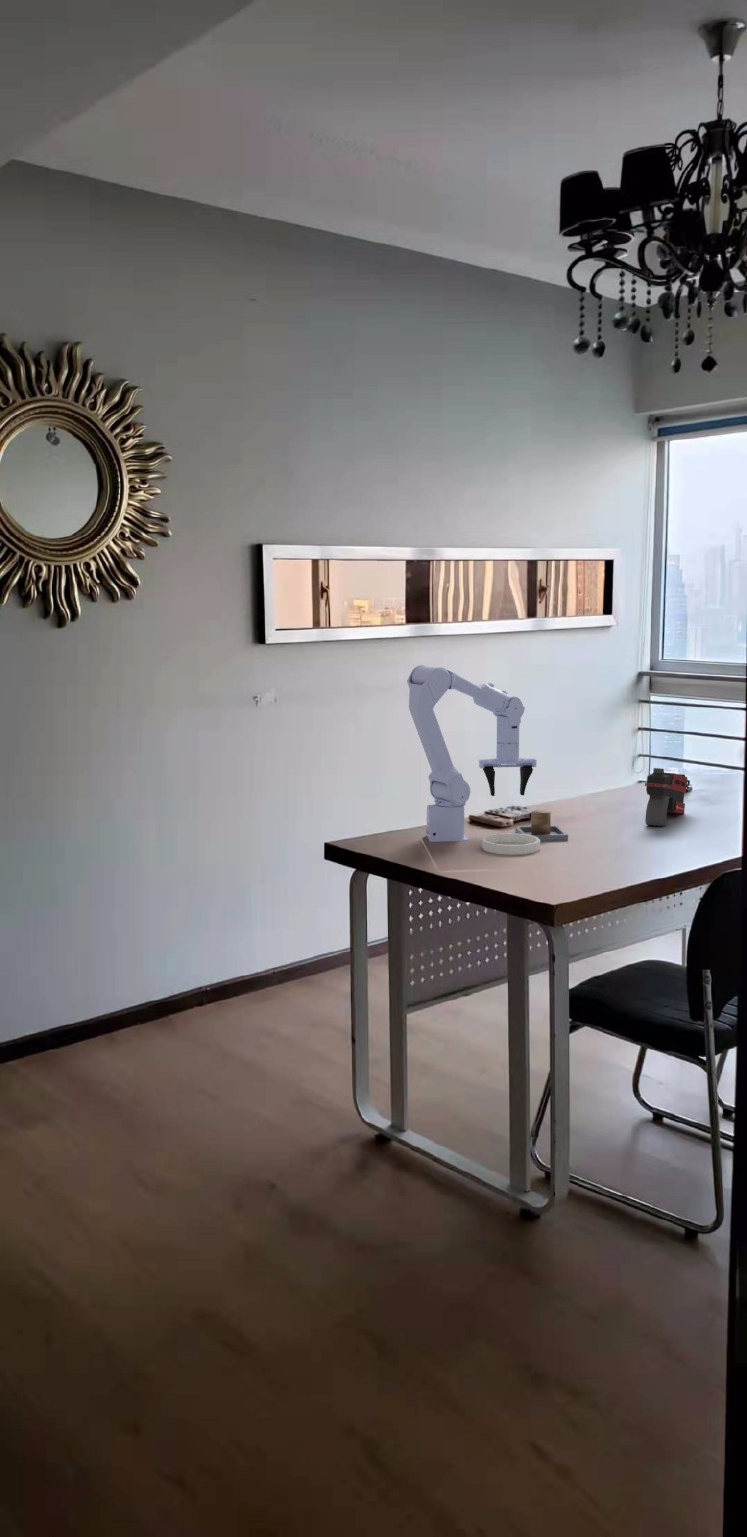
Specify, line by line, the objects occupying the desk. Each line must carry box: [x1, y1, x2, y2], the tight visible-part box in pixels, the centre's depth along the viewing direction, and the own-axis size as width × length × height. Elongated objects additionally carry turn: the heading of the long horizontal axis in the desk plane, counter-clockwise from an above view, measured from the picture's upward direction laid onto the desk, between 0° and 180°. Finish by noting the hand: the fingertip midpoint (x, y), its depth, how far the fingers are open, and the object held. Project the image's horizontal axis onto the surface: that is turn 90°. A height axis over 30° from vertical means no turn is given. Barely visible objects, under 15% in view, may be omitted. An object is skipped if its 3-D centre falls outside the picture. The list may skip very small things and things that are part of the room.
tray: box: [514, 825, 569, 842], centre depth 300 cm, size 11×11×2 cm
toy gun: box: [644, 767, 688, 827], centre depth 320 cm, size 5×24×15 cm, turn 152°
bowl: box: [481, 832, 541, 856], centre depth 287 cm, size 14×14×2 cm
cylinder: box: [530, 809, 552, 835], centre depth 299 cm, size 5×5×6 cm
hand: (507, 795), depth 307 cm, fingers open, 7 cm apart
